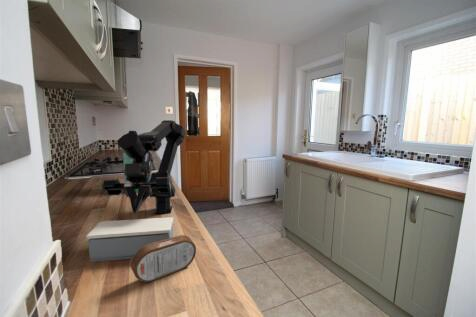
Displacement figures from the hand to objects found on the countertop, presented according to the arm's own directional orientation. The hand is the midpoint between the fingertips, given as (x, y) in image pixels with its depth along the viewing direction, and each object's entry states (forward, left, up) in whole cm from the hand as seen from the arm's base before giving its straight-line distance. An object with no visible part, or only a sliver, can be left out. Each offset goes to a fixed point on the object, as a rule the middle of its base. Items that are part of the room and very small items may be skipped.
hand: (134, 212), depth 66 cm
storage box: (+1, 0, -10) cm, 10 cm away
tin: (+13, +10, -11) cm, 20 cm away
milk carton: (-58, -13, -11) cm, 60 cm away
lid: (+2, 0, -4) cm, 4 cm away
